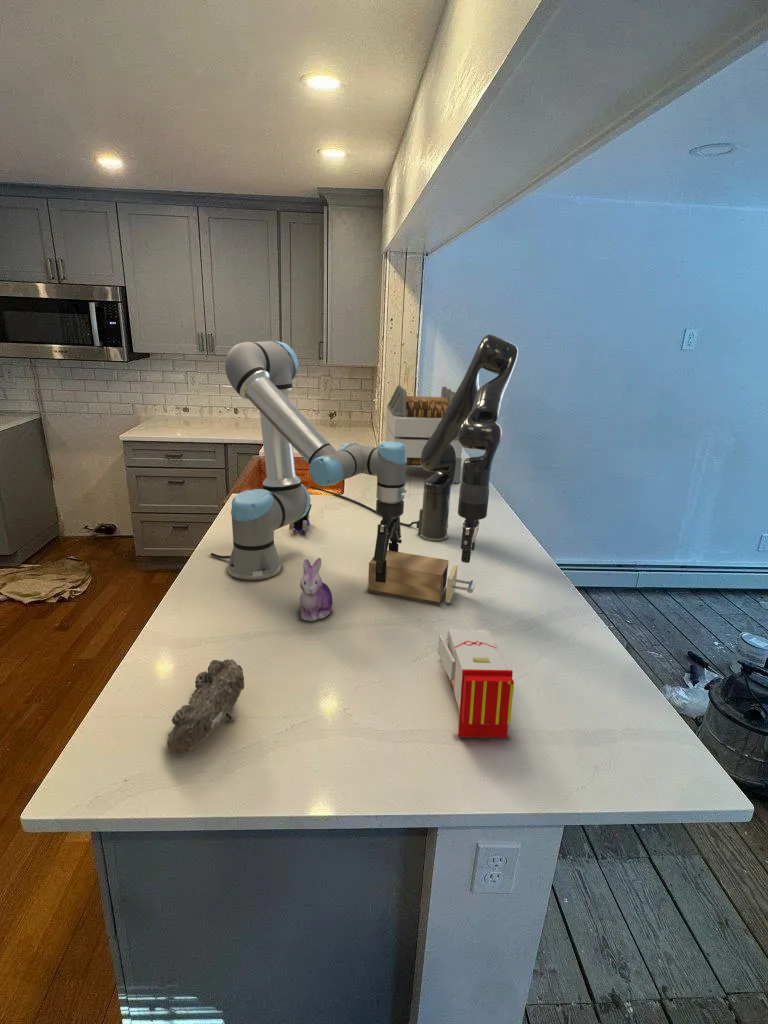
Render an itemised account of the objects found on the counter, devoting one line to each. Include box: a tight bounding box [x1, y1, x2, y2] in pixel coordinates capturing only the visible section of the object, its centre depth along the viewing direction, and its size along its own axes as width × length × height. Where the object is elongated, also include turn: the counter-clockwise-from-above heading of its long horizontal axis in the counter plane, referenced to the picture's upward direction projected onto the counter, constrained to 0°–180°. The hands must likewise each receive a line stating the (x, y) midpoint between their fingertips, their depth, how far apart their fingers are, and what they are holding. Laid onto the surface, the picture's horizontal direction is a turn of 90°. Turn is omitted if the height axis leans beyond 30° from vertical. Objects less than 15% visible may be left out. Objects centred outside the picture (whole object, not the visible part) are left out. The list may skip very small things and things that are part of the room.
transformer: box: [384, 384, 463, 484], centre depth 268 cm, size 34×33×41 cm
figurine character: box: [288, 503, 313, 535], centre depth 199 cm, size 7×8×15 cm
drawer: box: [440, 564, 476, 604], centre depth 157 cm, size 25×9×7 cm, turn 73°
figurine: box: [299, 557, 333, 622], centre depth 143 cm, size 9×10×15 cm
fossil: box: [166, 658, 245, 754], centre depth 106 cm, size 22×10×15 cm
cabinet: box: [367, 549, 450, 606], centre depth 159 cm, size 20×10×9 cm, turn 73°
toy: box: [437, 628, 515, 738], centre depth 117 cm, size 12×13×30 cm
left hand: (386, 572), depth 160 cm, fingers open, 11 cm apart
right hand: (467, 555), depth 152 cm, fingers open, 8 cm apart
